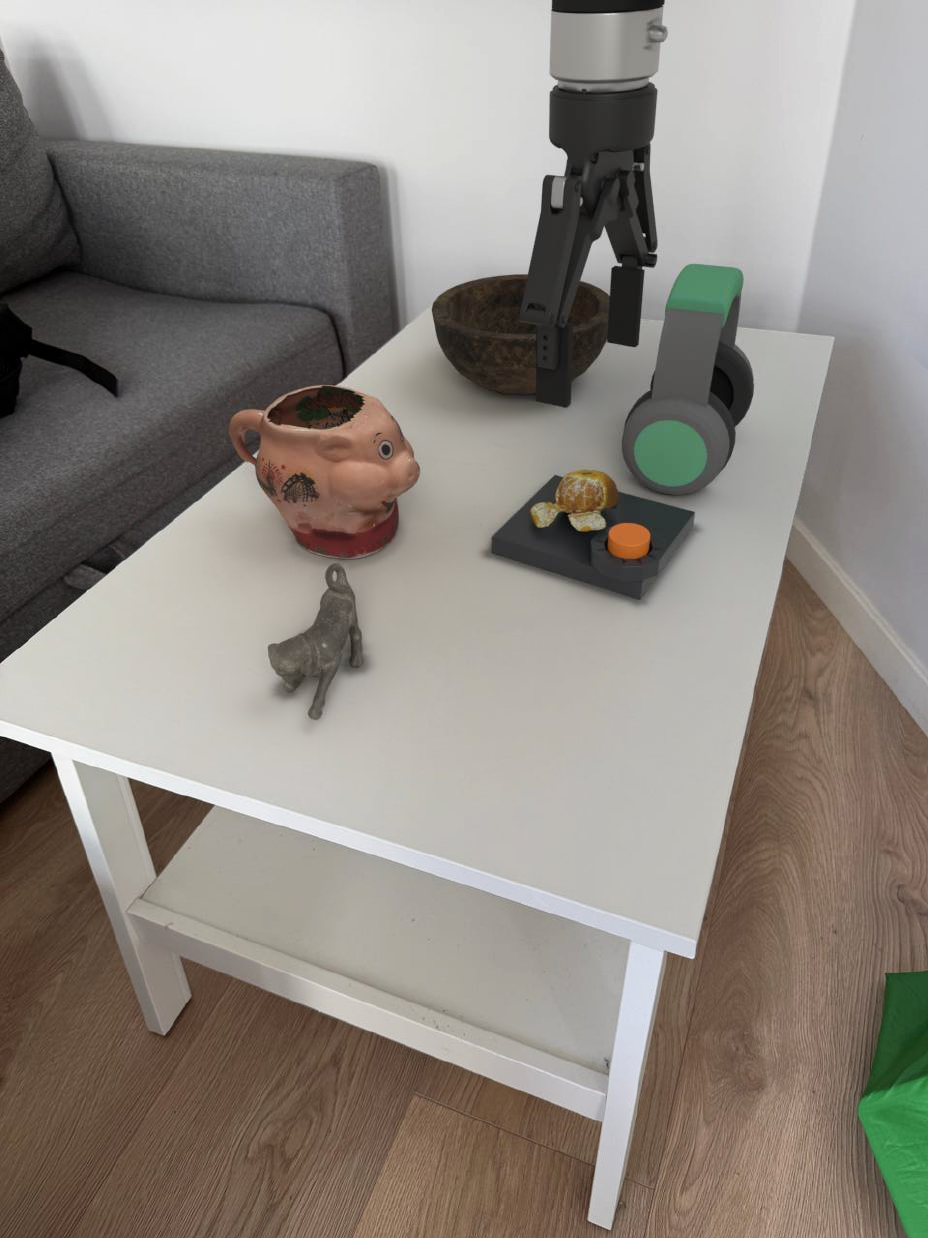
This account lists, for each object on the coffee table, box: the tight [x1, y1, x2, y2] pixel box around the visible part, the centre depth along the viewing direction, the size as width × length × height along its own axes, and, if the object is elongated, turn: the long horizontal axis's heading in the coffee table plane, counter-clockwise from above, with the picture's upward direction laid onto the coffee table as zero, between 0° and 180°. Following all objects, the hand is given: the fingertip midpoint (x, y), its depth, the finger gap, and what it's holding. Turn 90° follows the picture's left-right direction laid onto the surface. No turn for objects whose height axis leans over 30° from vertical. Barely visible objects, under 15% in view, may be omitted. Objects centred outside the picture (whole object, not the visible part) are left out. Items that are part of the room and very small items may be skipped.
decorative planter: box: [227, 384, 421, 560], centre depth 85 cm, size 20×12×14 cm, turn 71°
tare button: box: [608, 523, 650, 559], centre depth 80 cm, size 4×4×2 cm
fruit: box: [530, 469, 619, 532], centre depth 85 cm, size 8×8×4 cm
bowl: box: [431, 273, 610, 396], centre depth 112 cm, size 22×22×10 cm
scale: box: [491, 474, 696, 600], centre depth 86 cm, size 16×14×4 cm
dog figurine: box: [267, 562, 364, 721], centre depth 71 cm, size 12×6×7 cm, turn 164°
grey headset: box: [621, 263, 755, 496], centre depth 93 cm, size 19×11×20 cm, turn 157°
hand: (589, 371), depth 77 cm, fingers open, 13 cm apart
